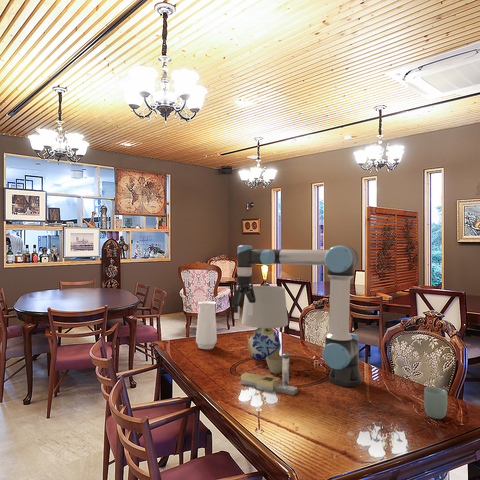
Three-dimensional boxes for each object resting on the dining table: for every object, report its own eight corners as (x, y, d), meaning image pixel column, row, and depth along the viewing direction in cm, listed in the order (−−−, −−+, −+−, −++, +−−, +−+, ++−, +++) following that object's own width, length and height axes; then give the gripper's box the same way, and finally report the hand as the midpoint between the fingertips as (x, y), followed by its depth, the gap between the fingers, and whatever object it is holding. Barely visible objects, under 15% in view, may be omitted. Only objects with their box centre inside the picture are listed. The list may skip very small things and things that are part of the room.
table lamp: (286, 365, 206) (287, 290, 207) (237, 361, 211) (238, 289, 212) (288, 351, 233) (289, 286, 234) (244, 349, 238) (245, 284, 238)
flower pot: (284, 376, 189) (285, 361, 189) (264, 374, 191) (265, 360, 191) (286, 369, 198) (286, 356, 199) (267, 368, 200) (267, 354, 201)
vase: (194, 345, 245) (194, 301, 245) (213, 344, 249) (214, 300, 249) (198, 350, 232) (198, 304, 233) (218, 349, 236) (219, 303, 237)
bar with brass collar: (298, 390, 170) (298, 381, 170) (292, 396, 163) (292, 387, 163) (247, 379, 182) (247, 371, 182) (238, 385, 175) (239, 376, 175)
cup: (426, 410, 150) (427, 385, 151) (449, 416, 146) (449, 390, 146) (421, 417, 144) (421, 390, 145) (444, 423, 140) (444, 396, 140)
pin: (291, 384, 178) (291, 353, 178) (287, 386, 174) (288, 355, 174) (283, 382, 180) (283, 352, 180) (279, 385, 176) (280, 354, 176)
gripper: (250, 273, 208) (249, 313, 207) (224, 276, 186) (224, 320, 186) (262, 274, 204) (261, 314, 203) (237, 277, 183) (237, 321, 182)
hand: (243, 317), depth 195 cm, fingers open, 13 cm apart
